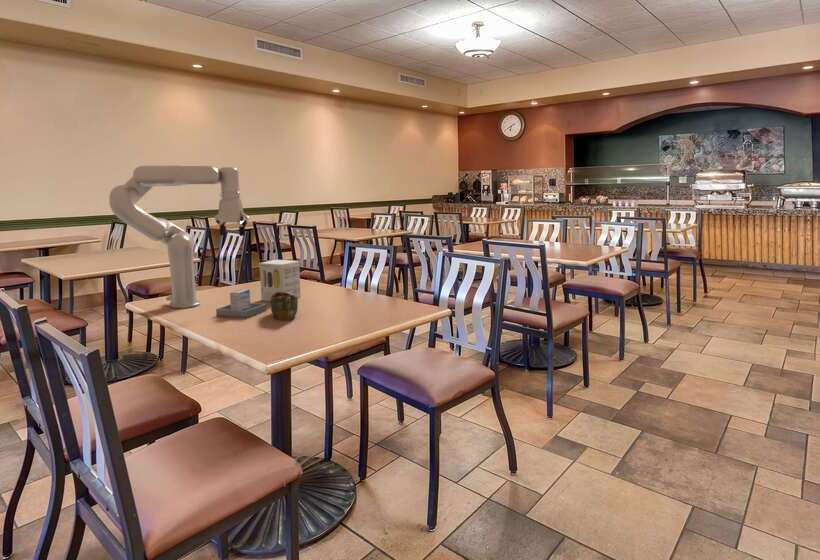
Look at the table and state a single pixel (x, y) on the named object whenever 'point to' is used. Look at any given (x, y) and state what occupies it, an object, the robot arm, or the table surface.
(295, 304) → the cup
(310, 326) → the table surface
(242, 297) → the medicine box
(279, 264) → the supplement box
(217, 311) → the tray
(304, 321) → the table surface
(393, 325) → the table surface
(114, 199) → the robot arm
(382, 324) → the table surface
